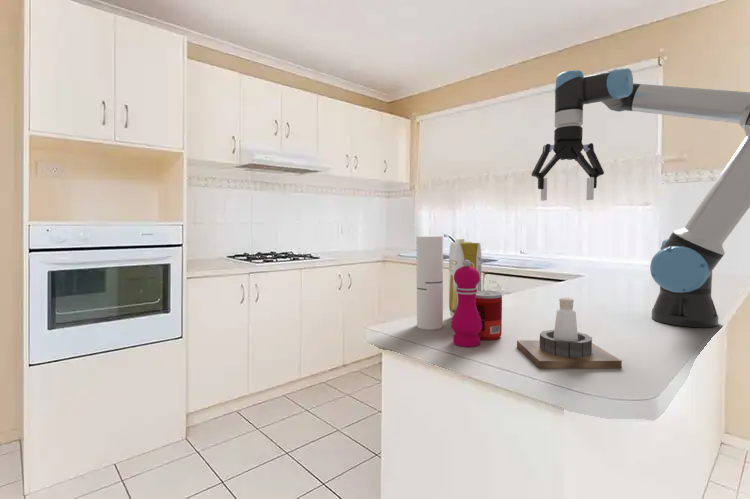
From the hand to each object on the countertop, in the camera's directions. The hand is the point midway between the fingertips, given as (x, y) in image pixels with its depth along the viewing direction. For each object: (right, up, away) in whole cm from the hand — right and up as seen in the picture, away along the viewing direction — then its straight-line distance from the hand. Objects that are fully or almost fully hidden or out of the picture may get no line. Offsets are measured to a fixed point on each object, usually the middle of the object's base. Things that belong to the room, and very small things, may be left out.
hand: (566, 200), depth 124 cm
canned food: (-29, -37, -19) cm, 50 cm away
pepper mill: (-35, -37, -25) cm, 57 cm away
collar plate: (-16, -38, -35) cm, 54 cm away
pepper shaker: (-16, -36, -35) cm, 53 cm away
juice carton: (-31, -36, -2) cm, 47 cm away
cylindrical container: (-42, -36, -9) cm, 56 cm away
